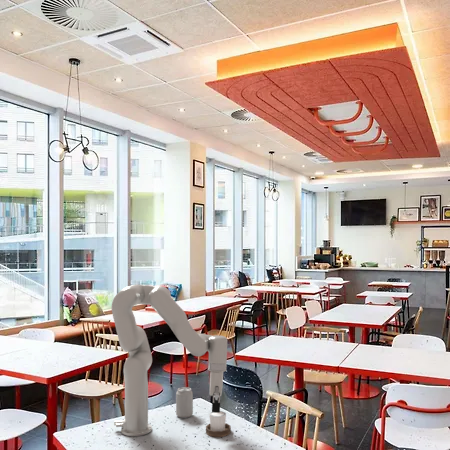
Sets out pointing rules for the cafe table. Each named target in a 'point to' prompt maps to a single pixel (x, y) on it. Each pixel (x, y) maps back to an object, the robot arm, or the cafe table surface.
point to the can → (184, 402)
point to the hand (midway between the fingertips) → (215, 408)
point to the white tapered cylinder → (217, 421)
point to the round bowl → (218, 433)
